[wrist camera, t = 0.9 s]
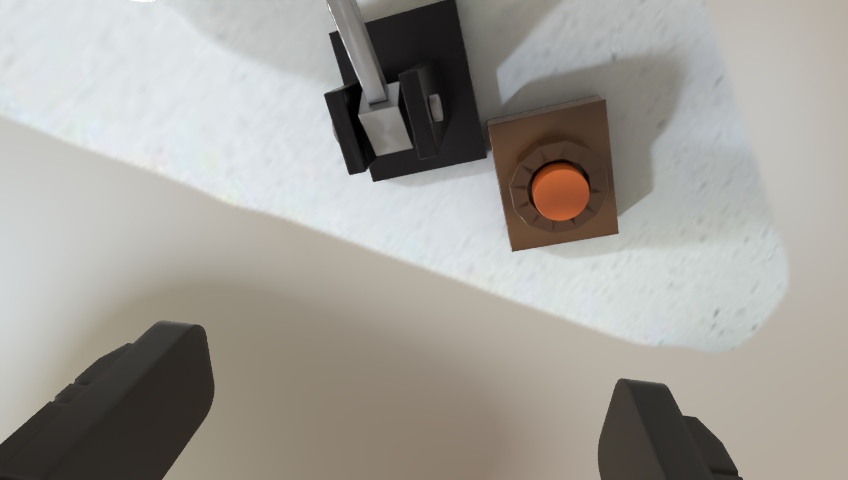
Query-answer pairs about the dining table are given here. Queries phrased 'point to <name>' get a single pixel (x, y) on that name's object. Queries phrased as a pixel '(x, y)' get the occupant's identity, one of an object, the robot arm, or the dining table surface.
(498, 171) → the button base
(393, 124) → the lever
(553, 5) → the dining table surface
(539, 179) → the warm button
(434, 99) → the lever base
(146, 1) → the coffeepot
